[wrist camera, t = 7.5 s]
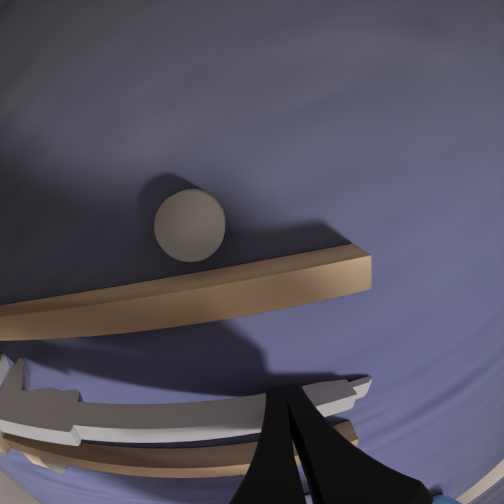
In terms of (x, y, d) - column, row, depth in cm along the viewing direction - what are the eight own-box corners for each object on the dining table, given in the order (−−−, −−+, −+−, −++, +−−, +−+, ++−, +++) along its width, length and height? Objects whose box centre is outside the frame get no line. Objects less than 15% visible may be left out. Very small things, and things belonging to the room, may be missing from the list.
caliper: (7, 363, 11) (-43, 428, 5) (1, 348, 11) (-54, 412, 5) (364, 386, 13) (414, 479, 7) (369, 371, 12) (427, 465, 6)
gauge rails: (344, 463, 15) (353, 489, 12) (33, 462, 14) (25, 479, 12) (339, 125, 9) (370, 115, 7) (-83, 258, 8) (-103, 269, 6)
